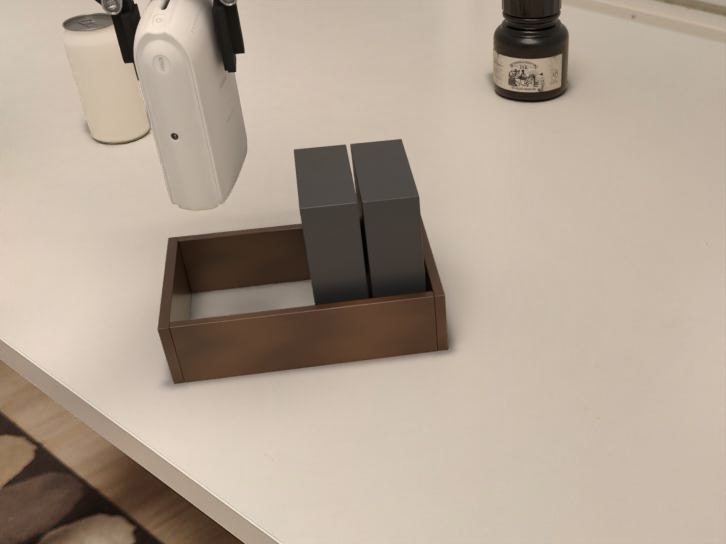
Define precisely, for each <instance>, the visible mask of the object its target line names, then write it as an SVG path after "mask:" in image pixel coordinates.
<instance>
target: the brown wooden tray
mask: <svg viewBox="0 0 726 544" xmlns="http://www.w3.org/2000/svg"><path fill="white" fill-rule="evenodd" d="M421 227H422V241H423V256H424V270H425V284H426V292H422V293H414V294H405V295H397V296H388V297H380V298H371V299H370V298H369V299H363V300H354V301H346V302H337V303H329V304H320V305H315V304H312V305H305V306H303V305H302V306H296V307H286V308H279V309H271V310H261V311H254V312H245V313H244V312H243V313H237V314H227V315H226V314H225V315H219V316H209V317H202V318H194V319H190V316H191V305H192V294H197V293H198V294H199V293H205V292H206V293H207V292H215V291H222V290H223V291H224V290H231V289H233V290H234V289H241V288H249V287H258V286H259V287H260V286H267V285H268V286H269V285H277V284H285V283H292V282H293V283H294V282H302V281H303V282H304V281H311V278H310V272H309V266H308V259H307V253H306V247H305V241H304V235H303V229H302V223H294V224H293V223H292V224H283V225H274V226H265V227H256V228H247V229H238V230H228V231H217V232H209V233H201V234H199V233H198V234H190V235H180V236H171V237H167V245H166V253H165V263H164V271H163V279H162V288H161V295H160V296H161V297H160V303H159V304H160V305H159V311H158V312H159V313H158V321H157V329H156V331H157V332H158V337H159V339H160V342H161V343H160V344H161V345H162V346H161V347H162V350H163V353H164V356H165V359H166V363H167V366H168V370H169V373H170V377H171V380H172V383H173V385H178V384H185V383H186V384H187V383H193V382H194V383H195V382H203V381H210V380H219V379H227V378H234V377H236V378H237V377H243V376H250V375H259V374H267V373H274V372H282V371H283V372H285V371H290V370H300V369H305V368H306V369H309V368H315V367H322V366H324V367H325V366H330V365H339V364H346V363H355V362H363V361H370V360H379V359H380V360H381V359H386V358H387V359H388V358H396V357H402V356H403V357H404V356H410V355H412V356H413V355H419V354H426V353H436V352H442V351H443V352H444V351H448V350H449V340H448V338H449V337H448V323H447V321H448V320H447V304H446V294H445V291H444V287H443V284H442V280H441V277H440V274H439V270H438V267H437V264H436V260H435V257H434V254H433V250H432V248H431V244H430V240H429V237H428V234H427V230H426V228H425V223H424V220H423V217H422V216H421Z"/></svg>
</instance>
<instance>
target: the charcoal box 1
mask: <svg viewBox="0 0 726 544" xmlns="http://www.w3.org/2000/svg"><path fill="white" fill-rule="evenodd" d="M293 158H294V169H295V170H294V171H295V179H296V189H297V199H298V200H297V201H298V210H299V214H300V215H299V216H300V222H301V223H302V229H303V235H304V241H305V247H306V253H307V259H308V266H309V272H310V278H311V280H310V282H311V289H312V295H313V301H314V302H313V303H314V305H320V304H329V303H337V302H346V301H354V300H363V299H370V298H369V293H368V287H367V279H366V270H365V262H364V253H363V245H362V236H361V227H360V219H359V210H358V202H357V197H356V191H355V182H354V176H353V173H352V172H353V171H352V168H351V162H350V158H349V153H348V147H347V144H334V145H324V146H314V147H305V148H304V147H303V148H294V149H293ZM301 223H300V224H301Z"/></svg>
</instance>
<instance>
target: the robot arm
mask: <svg viewBox="0 0 726 544" xmlns="http://www.w3.org/2000/svg"><path fill="white" fill-rule="evenodd" d="M94 1H95V2H96V3H97V4H99V5H100V6H101V7H102V10H103V11H104V13H108V14H111V17H112V21H113V25H114V29H115V32H116V36H117V40H118V44H119V47H120V51H121V55H122V58H123V61H124V63H125V64H126V63H133V65H134V69H135V72H136V76H137V79H138V82H139V78H138V74H137V70H136V66H135V62H134V39H135V34H136V30H137V27H138V24H139V21H140V19H141V16H142V15H141V13H140V8H139V5H138V3H135V0H94ZM237 2H238V0H213V15H214V20H215V25H216V30H217V35H218V40H219V45H220V50H221V55H222V60H223V65H224V70H225V71H228V73H232V72H235V73H237V55H243V54H245V53H246V48H245V42H244V35H243V30H242V26H241V25H242V24H241V19H240V13H239V10H238V9H239V8H238V4H237Z"/></svg>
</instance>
